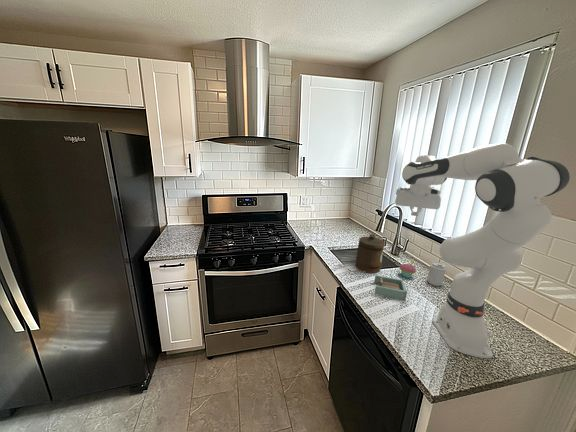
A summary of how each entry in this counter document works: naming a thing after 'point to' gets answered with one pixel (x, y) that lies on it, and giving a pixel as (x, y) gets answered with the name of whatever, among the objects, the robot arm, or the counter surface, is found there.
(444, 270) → the grey lidded jar
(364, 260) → the wooden container
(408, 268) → the cupcake
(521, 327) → the counter surface
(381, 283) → the brown block
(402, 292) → the tray
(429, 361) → the counter surface
